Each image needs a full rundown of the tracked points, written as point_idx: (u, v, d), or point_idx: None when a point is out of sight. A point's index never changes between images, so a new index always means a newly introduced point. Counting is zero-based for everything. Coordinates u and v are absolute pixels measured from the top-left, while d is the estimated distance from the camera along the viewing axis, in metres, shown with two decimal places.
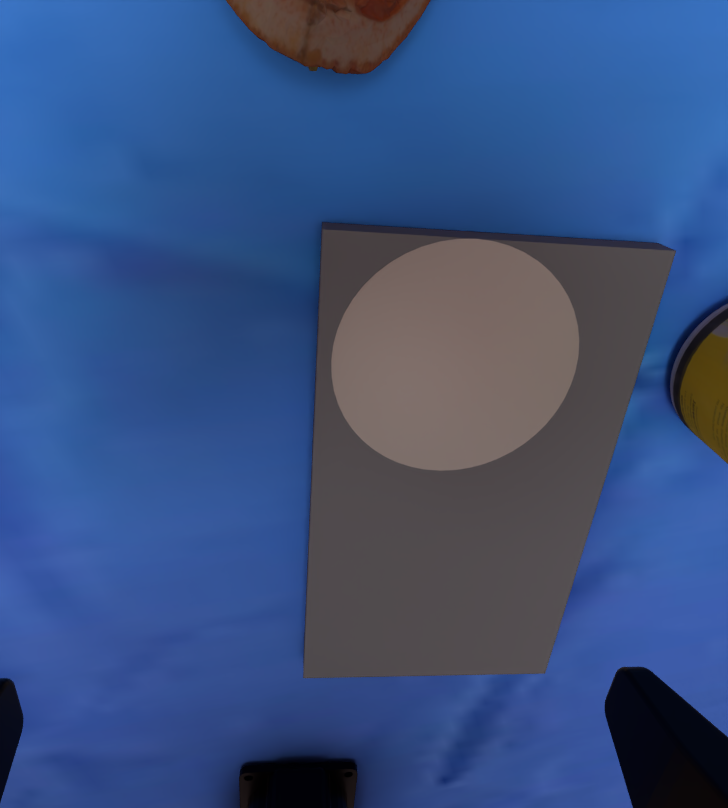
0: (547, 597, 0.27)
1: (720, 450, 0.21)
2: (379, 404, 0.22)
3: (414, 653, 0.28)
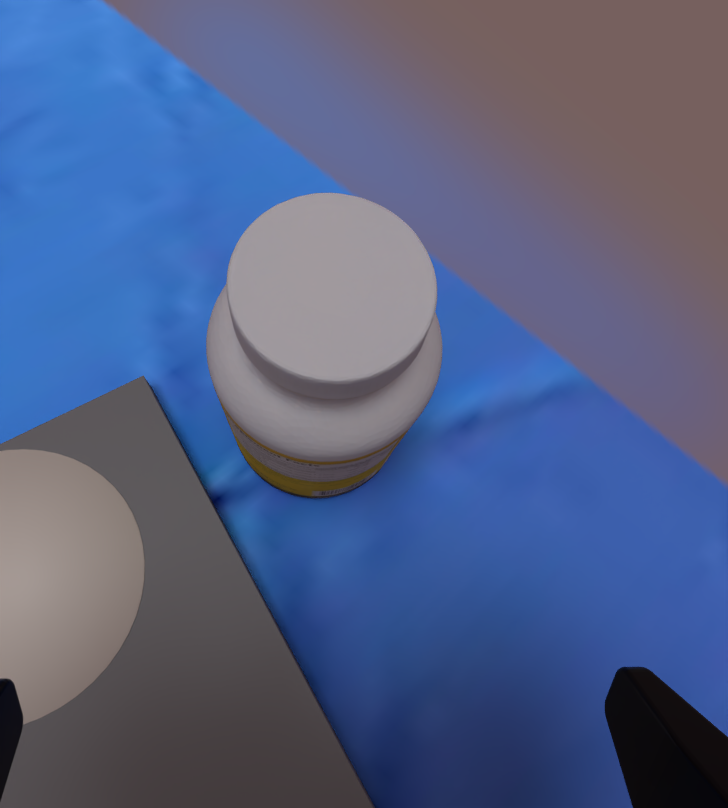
0: (330, 798, 0.19)
1: (280, 477, 0.20)
2: None
3: None
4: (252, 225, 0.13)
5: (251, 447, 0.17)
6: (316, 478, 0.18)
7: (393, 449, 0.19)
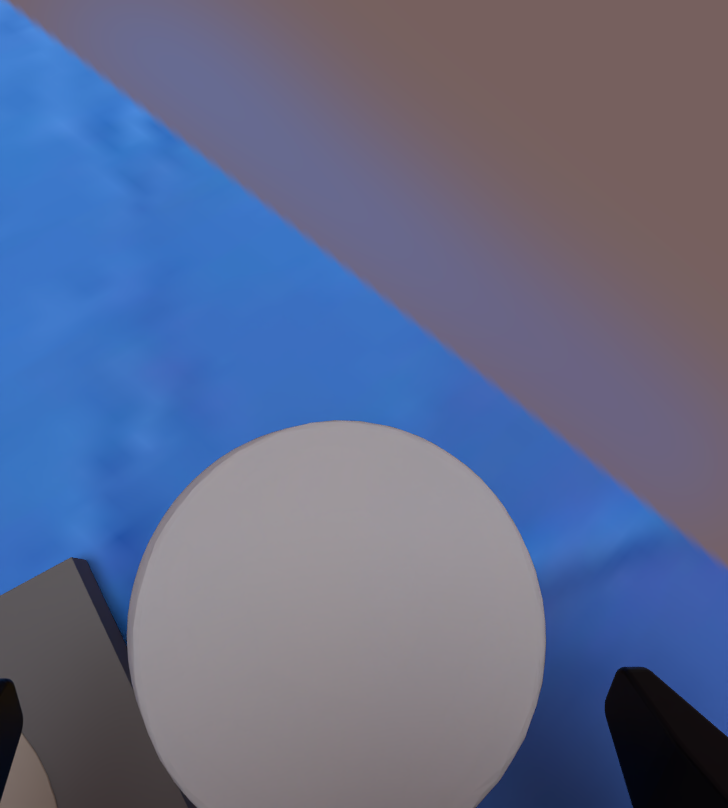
0: None
1: None
2: None
3: None
4: (187, 501, 0.07)
5: None
6: None
7: None
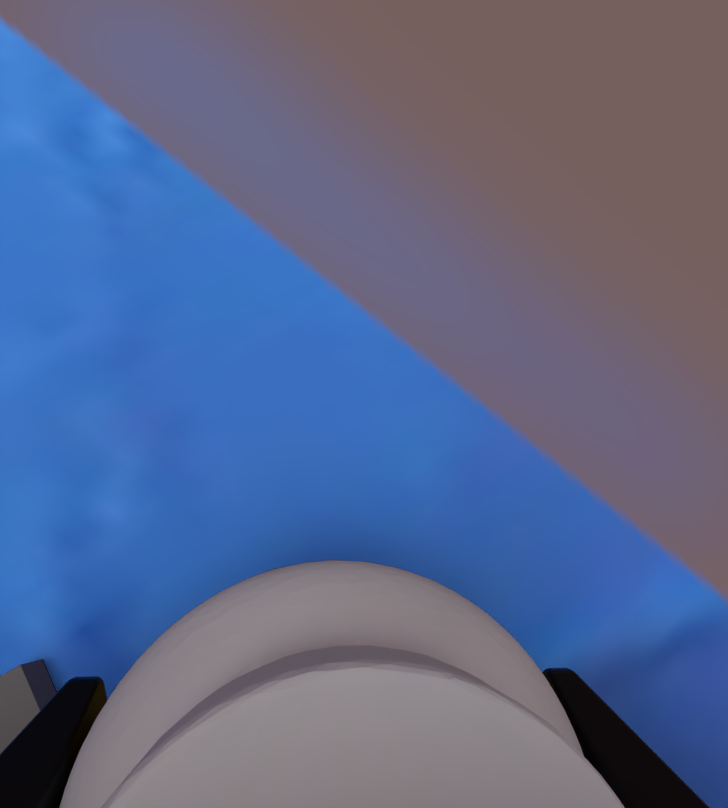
0: None
1: None
2: None
3: None
4: None
5: None
6: None
7: None
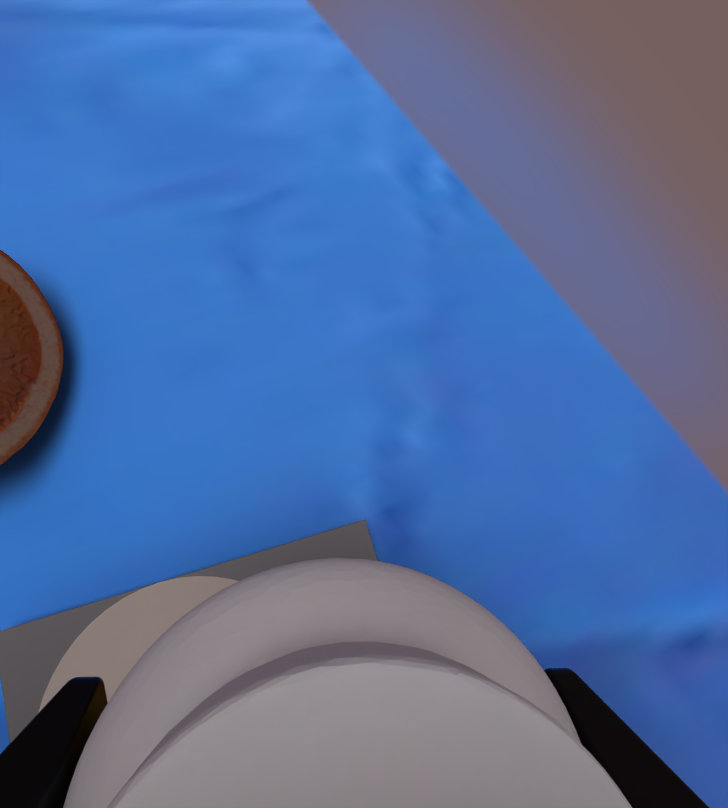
0: None
1: None
2: None
3: None
4: None
5: None
6: None
7: None
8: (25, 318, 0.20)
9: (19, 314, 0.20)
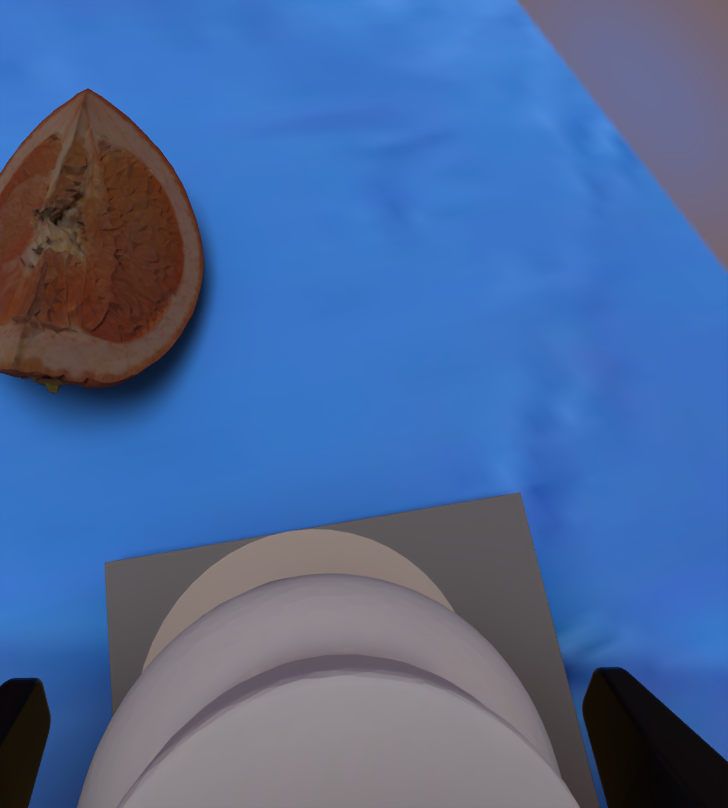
0: None
1: None
2: None
3: None
4: None
5: None
6: None
7: None
8: (172, 224, 0.18)
9: (167, 218, 0.18)
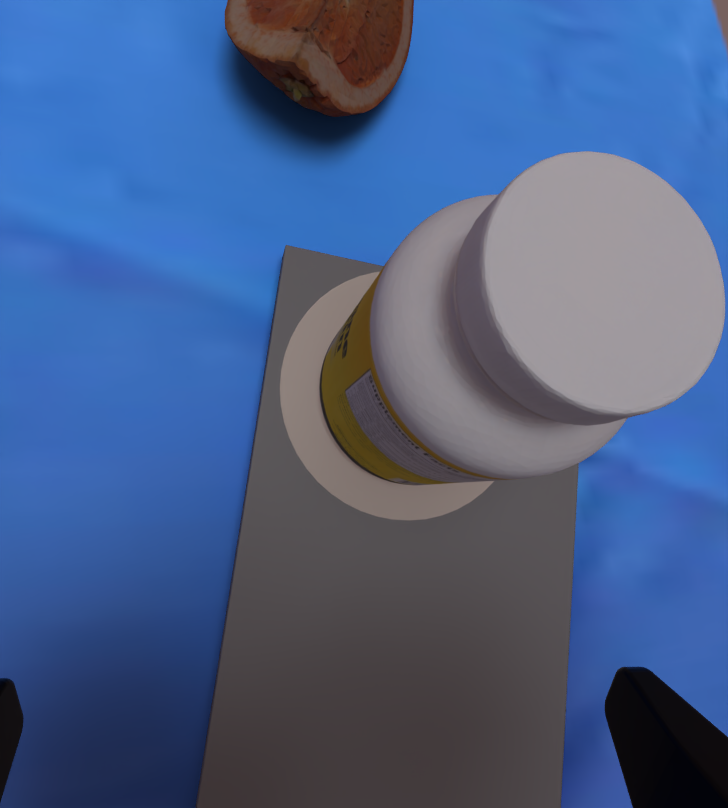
0: (537, 744, 0.20)
1: (375, 456, 0.17)
2: None
3: None
4: (532, 170, 0.10)
5: (375, 421, 0.14)
6: (428, 475, 0.15)
7: None
8: (400, 13, 0.22)
9: (399, 6, 0.22)
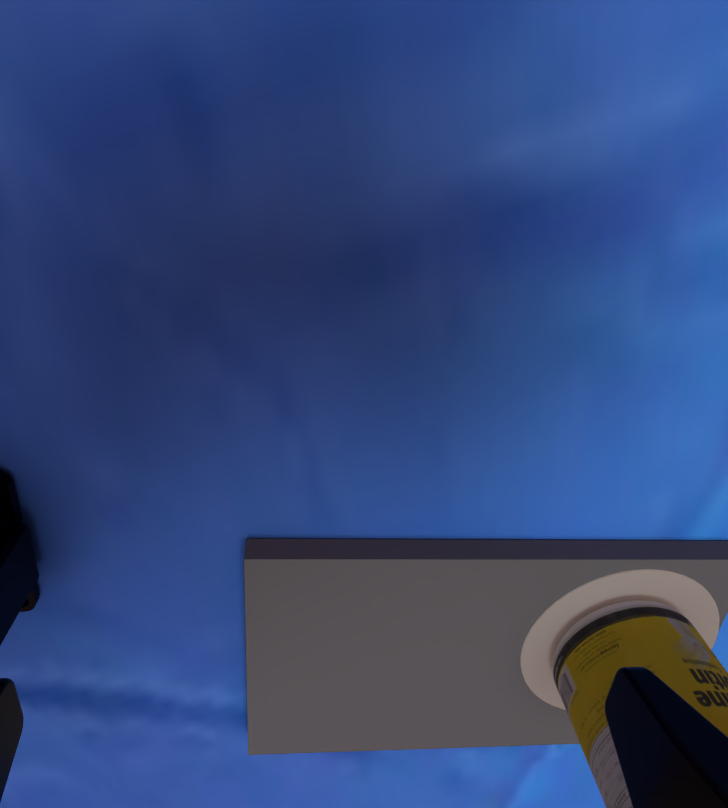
0: (357, 737, 0.28)
1: (605, 694, 0.22)
2: (599, 603, 0.25)
3: (282, 653, 0.25)
4: None
5: None
6: (604, 751, 0.21)
7: None
8: None
9: None
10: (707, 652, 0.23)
